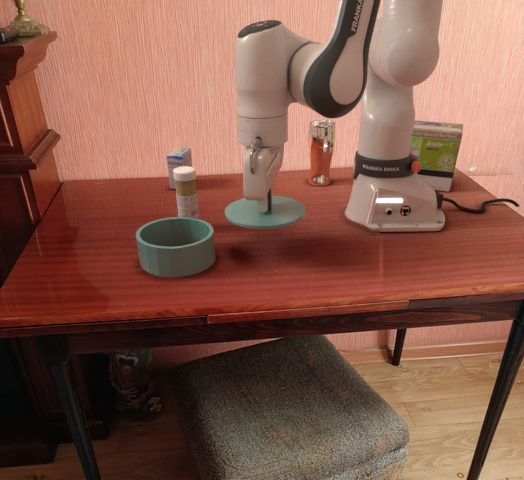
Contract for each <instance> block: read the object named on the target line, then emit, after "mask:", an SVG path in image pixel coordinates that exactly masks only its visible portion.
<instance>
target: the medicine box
mask: <svg viewBox="0 0 524 480" xmlns="http://www.w3.org/2000/svg"><path fill="white" fill-rule="evenodd" d="M166 163H167V164H166V165H167V172H168V184H169V189H170V190H176V185H175V179H174V175H173V170H174V169H175V168H177V167H183V166H188V167H193V157H192V149H191V148H190V147H174V148H173V149H172V150H171V151H170V152H169V153H168V154H167V155H166Z"/></svg>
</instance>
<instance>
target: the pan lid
mask: <svg viewBox="0 0 524 480" xmlns="http://www.w3.org/2000/svg"><path fill="white" fill-rule="evenodd" d="M267 197H268V206H269V208H268V210H267V212H259V211H258V203H257V201H251V200H246V199H245V197H242V198H240V199H237V200H235V201H233V202H231V203H229V204H228V205H227V206H226V207H225V209H224V217H225V219H226V220H227V222H229V223H231V224H233V225H236V226H238V227H241V228H246V229H255V230H270V229H271V230H272V229H278V228H284V227H288V226H291V225H294V224H296V223H299V222H300V221H302V219H304V218H305V216H306V214H307V207H306V205H305V204H304V203H303V202H301V201H300V200H298V199H295V198H292V197H289V196H283V195H276V194H275V195H273V191H272V189H271V188H270V190H269V192H268V194H267Z"/></svg>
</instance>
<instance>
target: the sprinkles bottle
mask: <svg viewBox="0 0 524 480" xmlns="http://www.w3.org/2000/svg"><path fill="white" fill-rule="evenodd" d="M173 175H174V179H175V185H176V189H175V196H176V197H175V199H176V207H177V217H189V218H196V219H200V218H199V217H200V214H199V199H198V192H197V184H196V183H197V181H196V180H197V172H196V169H195V167H193V166H192V167H188V166H183V167H177V168H175V169H174V170H173Z"/></svg>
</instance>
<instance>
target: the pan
mask: <svg viewBox="0 0 524 480" xmlns="http://www.w3.org/2000/svg"><path fill="white" fill-rule="evenodd" d="M135 242H136V248H137V254H138V261H139V265H140V267H141V268H142V270H143V271H145V272H147V273H149V274H150V275H153V276H158V277H163V278H164V277H165V278H181V277H188V276H193V275H197V274H199V273H202V272H205V271H206V270H208V269H209V268H211V267H212V266H213V265H214V264H215V262H216V260H217V259H216V258H217V257H216V243H215V230H214V227H213V226H212V224H211V223H210V222H208V221H205V220H204V219H201V218H199V219H196V218H189V217H178V216H173V217H171V216H170V217H165V218H159V219H156V220H152V221H149V222H147V223H145V224H143V225H142V226H140V227H139V228H138V229H137V231H136V232H135Z"/></svg>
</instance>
